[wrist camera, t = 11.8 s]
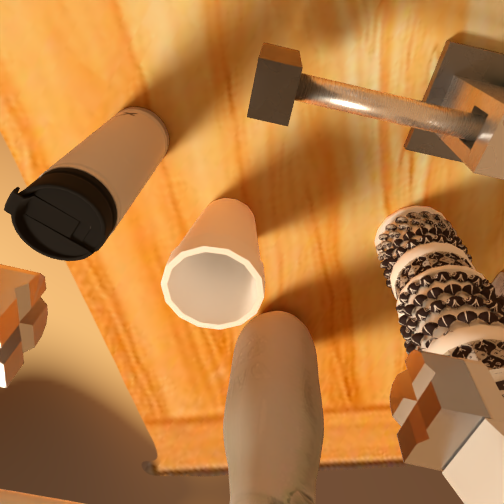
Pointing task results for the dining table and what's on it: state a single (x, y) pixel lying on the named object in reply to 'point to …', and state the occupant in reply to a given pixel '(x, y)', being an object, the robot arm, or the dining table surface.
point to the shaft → (345, 98)
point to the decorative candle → (440, 290)
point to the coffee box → (499, 285)
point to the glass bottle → (273, 413)
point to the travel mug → (90, 187)
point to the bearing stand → (467, 108)
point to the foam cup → (217, 268)
